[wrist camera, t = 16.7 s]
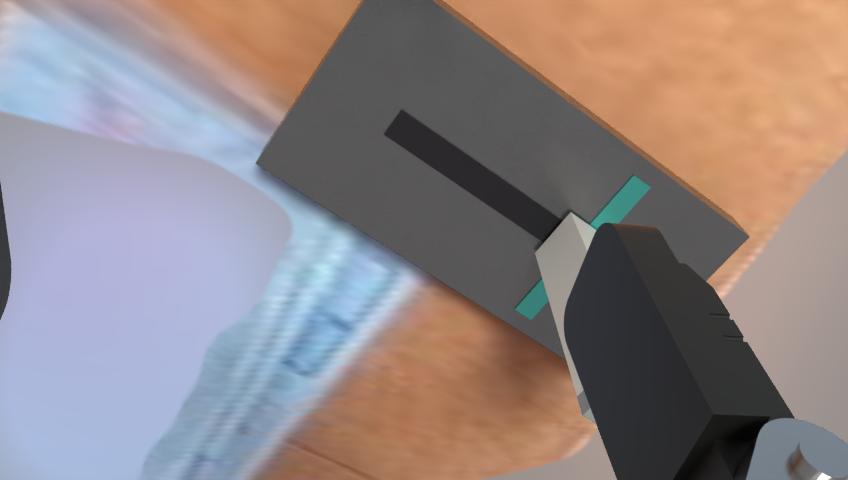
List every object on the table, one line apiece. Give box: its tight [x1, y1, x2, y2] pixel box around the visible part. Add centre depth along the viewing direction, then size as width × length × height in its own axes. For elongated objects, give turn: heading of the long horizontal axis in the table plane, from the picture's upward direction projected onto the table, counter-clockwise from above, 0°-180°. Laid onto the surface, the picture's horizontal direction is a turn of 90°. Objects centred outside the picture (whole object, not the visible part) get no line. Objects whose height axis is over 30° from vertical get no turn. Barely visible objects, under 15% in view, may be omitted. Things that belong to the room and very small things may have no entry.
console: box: [256, 0, 750, 360], centre depth 43 cm, size 24×12×3 cm, turn 54°
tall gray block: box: [535, 212, 597, 424], centre depth 37 cm, size 4×3×14 cm
